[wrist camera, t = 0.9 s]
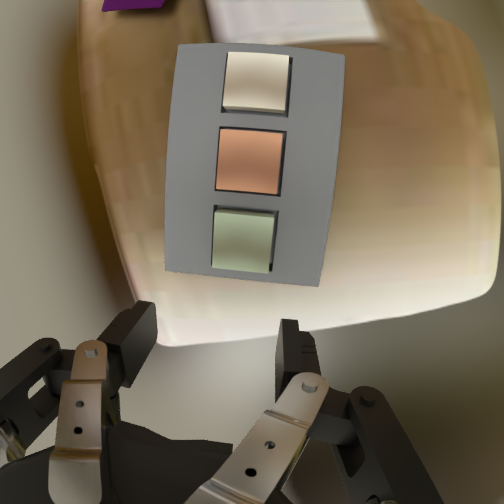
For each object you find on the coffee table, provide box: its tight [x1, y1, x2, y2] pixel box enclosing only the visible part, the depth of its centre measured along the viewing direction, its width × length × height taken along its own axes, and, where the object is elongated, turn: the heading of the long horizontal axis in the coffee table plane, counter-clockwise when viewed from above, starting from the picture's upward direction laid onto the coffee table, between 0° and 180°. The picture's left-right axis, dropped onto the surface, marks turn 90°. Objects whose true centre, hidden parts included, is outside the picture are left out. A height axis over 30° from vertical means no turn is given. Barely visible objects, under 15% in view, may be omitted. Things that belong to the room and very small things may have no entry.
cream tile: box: [223, 52, 289, 114], centre depth 22 cm, size 5×5×2 cm
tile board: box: [165, 43, 345, 287], centre depth 26 cm, size 22×15×3 cm
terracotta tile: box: [216, 129, 283, 194], centre depth 24 cm, size 5×5×2 cm
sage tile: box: [212, 208, 274, 274], centre depth 26 cm, size 5×5×2 cm
